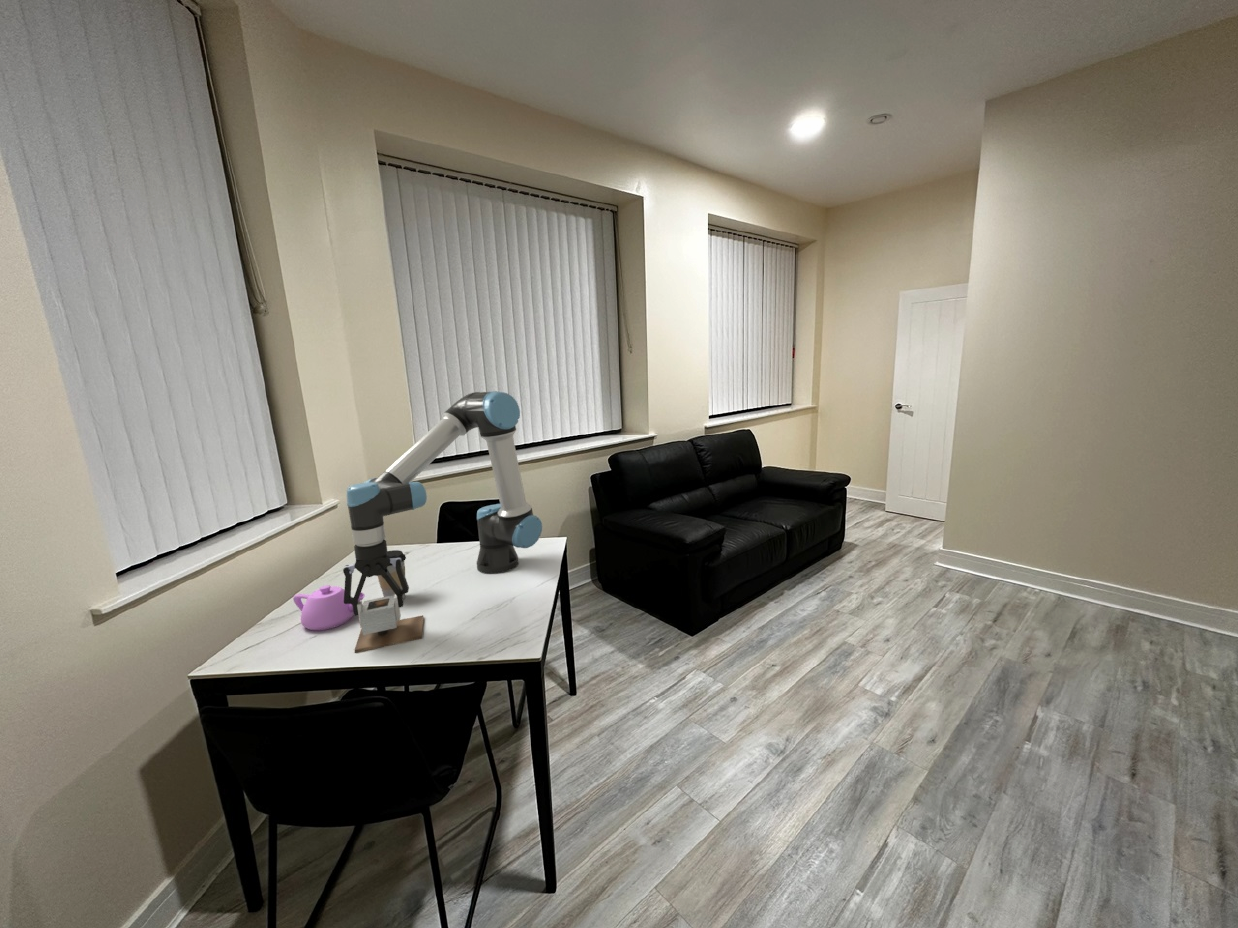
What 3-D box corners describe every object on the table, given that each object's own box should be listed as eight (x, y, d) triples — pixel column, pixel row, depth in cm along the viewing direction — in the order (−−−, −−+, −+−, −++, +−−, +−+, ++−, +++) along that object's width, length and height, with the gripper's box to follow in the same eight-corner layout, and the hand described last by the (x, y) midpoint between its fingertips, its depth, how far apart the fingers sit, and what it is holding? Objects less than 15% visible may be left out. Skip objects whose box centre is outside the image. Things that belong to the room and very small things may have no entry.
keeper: (423, 617, 135) (420, 592, 133) (422, 638, 123) (418, 611, 122) (362, 630, 129) (358, 604, 128) (354, 652, 118) (350, 624, 116)
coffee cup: (398, 606, 142) (391, 561, 139) (371, 605, 144) (365, 559, 141) (417, 593, 151) (411, 549, 148) (392, 591, 153) (386, 548, 150)
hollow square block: (398, 614, 130) (395, 594, 129) (396, 627, 123) (393, 606, 122) (367, 621, 127) (363, 601, 126) (363, 635, 120) (359, 613, 119)
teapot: (355, 630, 129) (350, 595, 127) (282, 634, 128) (276, 599, 126) (378, 607, 143) (374, 574, 141) (312, 610, 142) (307, 578, 140)
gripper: (413, 531, 128) (423, 607, 132) (327, 543, 120) (339, 623, 124) (412, 539, 121) (422, 619, 125) (320, 553, 114) (333, 637, 118)
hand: (381, 621), depth 125 cm, fingers closed on hollow square block, 8 cm apart
